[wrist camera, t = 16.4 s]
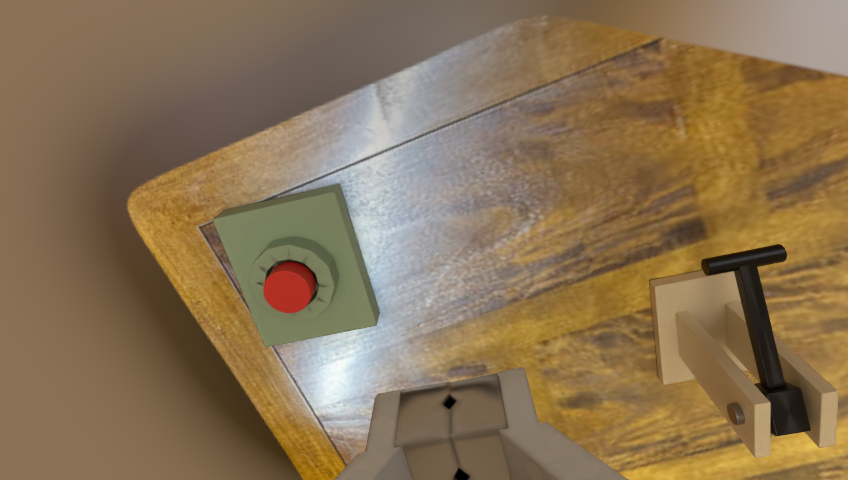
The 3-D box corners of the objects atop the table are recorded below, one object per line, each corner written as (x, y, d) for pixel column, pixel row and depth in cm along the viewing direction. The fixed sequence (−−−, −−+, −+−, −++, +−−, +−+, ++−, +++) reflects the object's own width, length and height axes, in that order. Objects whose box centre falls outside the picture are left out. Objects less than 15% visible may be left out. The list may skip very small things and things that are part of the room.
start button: (263, 266, 40) (256, 276, 38) (307, 256, 39) (301, 266, 38) (279, 306, 41) (272, 317, 39) (321, 297, 41) (316, 308, 39)
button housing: (223, 210, 42) (202, 227, 38) (339, 183, 41) (329, 198, 37) (272, 333, 46) (258, 359, 43) (379, 312, 45) (374, 337, 41)
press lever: (695, 259, 36) (710, 259, 34) (769, 244, 36) (790, 243, 33) (735, 427, 36) (753, 440, 33) (811, 415, 35) (835, 427, 33)
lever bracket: (649, 280, 43) (728, 373, 31) (748, 260, 42) (868, 348, 30) (657, 376, 47) (732, 493, 35) (749, 360, 46) (857, 474, 34)
